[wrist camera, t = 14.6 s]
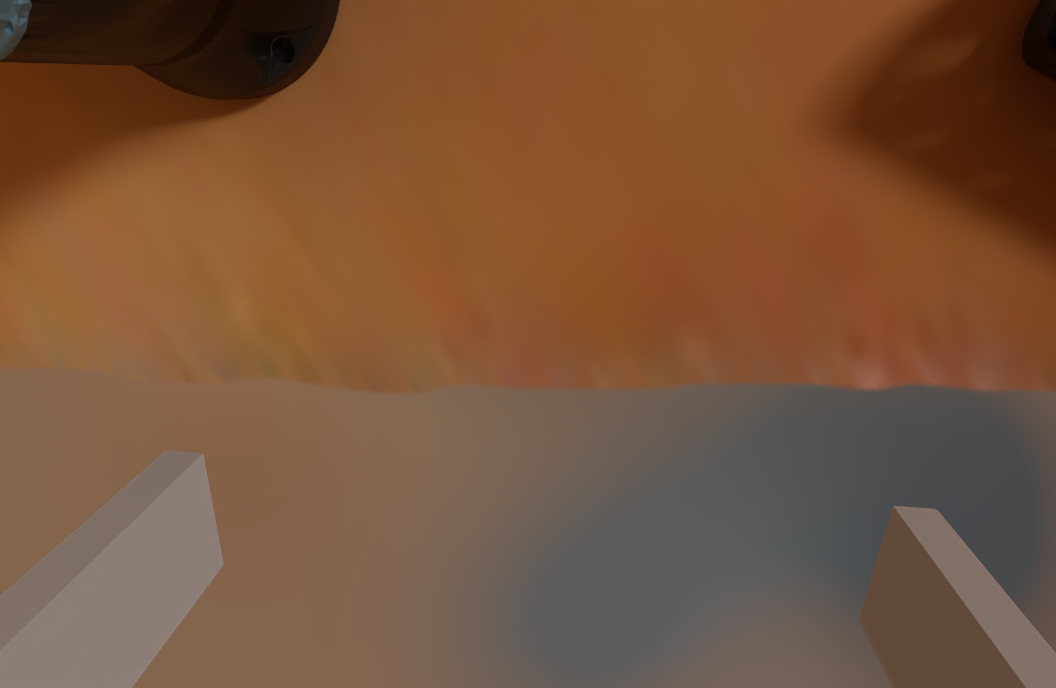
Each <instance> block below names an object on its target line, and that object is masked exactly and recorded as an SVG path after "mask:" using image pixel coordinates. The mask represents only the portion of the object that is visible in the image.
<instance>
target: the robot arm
mask: <svg viewBox="0 0 1056 688" xmlns="http://www.w3.org/2000/svg"><path fill="white" fill-rule="evenodd" d="M339 1H340V0H0V62H19V63H56V64H92V65H130V66H131V65H133V66H134V67H136V68H138V69H140V70H141V71H143V72H145V73H147V74H148V75H150V76H152V77H154V78H155V79H157V80H159V81H161V82H162V83H164V84H166V85H168V86H170V87H172V88H175V89H177V90H180V91H182V92H185V93H189V94H192V95H196V96H200V97H205V98H211V99H223V100H225V99H248V98H256V97H261V96H265V95H269V94H271V93H274V92H277V91H279V90H281V89H283V88H285V87H287V86H288V85H290V84H292V83H293V82H294V81H296V80H297V79H298V78H300V77H301V76H302V75H303V74H304V73H305V72H306V71H307V70H308V69H309V68H310V67H311V66H312V65H313V63H314V62H315V61H316V60H317V58H318V57H319V55H320V54H321V52H322V51H323V49H324V47H325V45H326V43H327V41H328V39H329V37H330V35H331V32H332V30H333V27H334V23H335V20H336V16H337V12H338V7H339ZM223 565H224V564H223V558H222V553H221V548H220V542H219V537H218V532H217V526H216V521H215V515H214V511H213V505H212V499H211V493H210V488H209V483H208V478H207V472H206V466H205V461H204V456H203V454H202V453H192V452H179V451H165V452H163V453H162V454H161V455H160V456H159V457H158V458H157V459H155V460H154V461H153V462H152V463H151V464H150V465H149V466H147V467H146V468H145V469H144V470H143V471H142V472H140V473H139V474H138V475H137V476H136V477H135V478H134V479H132V480H131V481H130V482H129V483H128V484H127V485H126V486H125V487H123V488H122V489H121V490H120V491H119V492H118V493H117V494H115V495H114V496H113V497H112V498H111V499H110V500H109V501H107V502H106V503H105V504H104V505H103V506H102V507H101V508H100V509H98V510H97V511H96V512H95V513H94V514H93V515H92V516H90V518H88V519H87V520H86V521H85V522H83V523H82V524H81V525H80V526H79V527H78V528H77V529H76V530H74V531H73V532H72V533H71V534H70V535H69V536H67V538H65V539H64V540H63V541H62V542H61V543H60V544H58V545H57V546H56V547H55V548H54V549H53V550H52V551H51V552H49V553H48V554H47V555H46V556H45V557H44V558H42V559H41V560H40V561H39V562H38V563H37V564H36V565H34V566H33V567H32V568H31V569H30V570H29V571H28V572H26V573H25V574H24V575H23V576H22V577H21V578H20V579H18V580H17V581H16V582H15V583H14V584H13V585H12V586H10V588H8V589H7V590H6V591H5V592H4V593H2V595H0V688H132V686H133V685H134V684H135V682H136V681H137V679H138V678H139V677H140V676H141V674H142V673H143V672H144V670H145V669H146V668H147V666H148V665H149V664H150V662H151V661H152V660H153V658H154V657H155V656H156V654H157V653H158V652H159V650H160V649H161V648H162V646H163V645H164V644H165V642H166V641H167V640H168V638H169V637H170V636H171V634H172V633H173V632H174V630H175V629H176V628H177V626H178V625H179V624H180V622H181V621H182V620H183V618H184V617H185V616H186V614H187V613H188V612H189V610H190V609H191V608H192V606H193V605H194V604H195V602H196V601H197V600H198V598H199V597H200V596H201V594H202V593H203V591H204V590H205V589H206V588H207V586H208V585H209V584H210V582H211V581H212V580H213V578H214V577H215V575H216V574H217V573H218V572H219V570H220V569H221V568H222V566H223ZM859 622H860V624H861V626H862V628H863V630H864V631H865V634H866V636H867V638H868V639H869V641H870V643H871V645H872V647H873V649H874V651H875V653H876V655H877V657H878V659H879V661H880V663H881V665H882V667H883V669H884V671H885V673H886V675H887V677H888V679H889V681H890V682H891V685H892V687H893V688H1056V653H1055V652H1054V651H1053V650H1052V648H1051V647H1050V646H1049V645H1048V643H1047V642H1046V641H1045V640H1044V639H1043V638H1042V636H1041V635H1040V634H1039V633H1038V631H1037V630H1036V629H1035V628H1034V627H1033V625H1032V624H1031V623H1030V622H1029V621H1028V619H1027V618H1026V617H1025V616H1024V614H1023V613H1022V612H1021V611H1020V610H1019V608H1018V607H1017V606H1016V605H1015V604H1014V602H1013V601H1012V600H1011V599H1010V597H1009V596H1008V595H1007V594H1006V593H1005V591H1004V590H1003V589H1002V588H1001V587H1000V585H999V584H998V583H997V582H996V580H995V579H994V578H993V577H992V576H991V574H990V573H989V572H988V571H987V570H986V569H985V567H984V566H983V565H982V564H981V562H980V561H979V560H978V559H977V558H976V556H975V555H974V554H973V553H972V551H971V550H970V549H969V548H968V547H967V545H966V544H965V543H964V542H963V541H962V539H961V538H960V537H959V536H958V534H957V533H956V532H955V531H954V530H953V528H952V527H951V526H950V525H949V524H948V522H947V521H946V520H945V519H944V518H943V516H942V515H941V514H940V513H939V511H938V510H937V509H926V508H913V507H900V506H893V509H892V512H891V516H890V519H889V523H888V526H887V529H886V532H885V535H884V539H883V542H882V545H881V549H880V552H879V556H878V559H877V562H876V565H875V569H874V572H873V575H872V578H871V582H870V585H869V588H868V592H867V595H866V598H865V602H864V605H863V608H862V611H861V615H860V618H859Z"/></svg>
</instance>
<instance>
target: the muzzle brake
mask: <svg viewBox="0 0 1056 688" xmlns="http://www.w3.org/2000/svg"><path fill="white" fill-rule="evenodd" d="M1022 57H1023V59H1024V61H1025V63H1026V64H1027V65H1029V66H1030V67H1031V68H1033V69H1035V70H1036V71H1038V72H1040V73H1041V74H1043V75H1045V76H1047V77H1048V78H1050V79H1052V80H1053V81H1055V82H1056V0H1042V1H1041V2H1040V3H1039V5H1038V6H1037V8H1036V10H1035V12H1034V14H1033V15H1032V17H1031V19H1030V21H1029V24H1028V26H1027V29H1026V31H1025V34H1024V39H1023V43H1022Z"/></svg>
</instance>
